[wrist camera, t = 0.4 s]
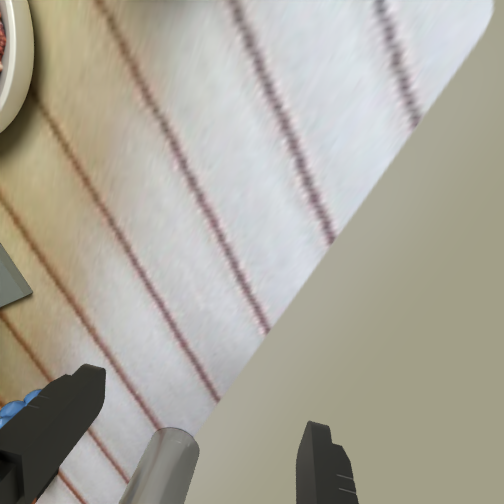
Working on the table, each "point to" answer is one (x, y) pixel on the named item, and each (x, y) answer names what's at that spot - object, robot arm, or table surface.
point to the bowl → (14, 57)
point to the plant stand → (11, 280)
